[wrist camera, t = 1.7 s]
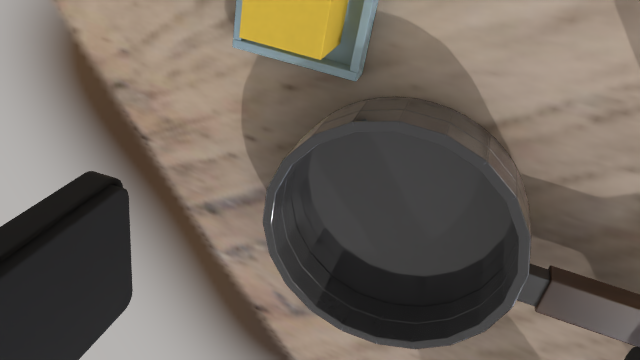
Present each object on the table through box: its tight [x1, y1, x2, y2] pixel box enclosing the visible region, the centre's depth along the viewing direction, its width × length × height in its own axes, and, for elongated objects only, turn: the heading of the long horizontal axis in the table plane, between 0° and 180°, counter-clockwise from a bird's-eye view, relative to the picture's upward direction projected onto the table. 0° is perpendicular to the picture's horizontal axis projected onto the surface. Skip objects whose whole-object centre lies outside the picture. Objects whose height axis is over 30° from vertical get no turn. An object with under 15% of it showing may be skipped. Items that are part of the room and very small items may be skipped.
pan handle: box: [517, 264, 640, 347], centre depth 28 cm, size 2×10×1 cm, turn 81°
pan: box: [263, 97, 531, 349], centre depth 31 cm, size 15×15×4 cm
